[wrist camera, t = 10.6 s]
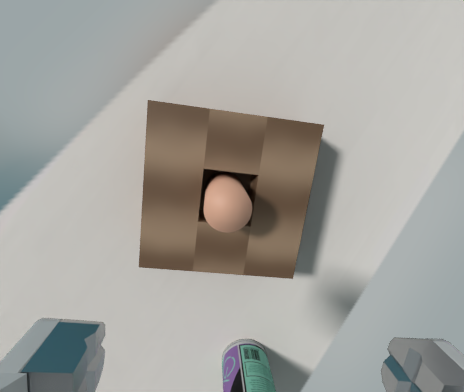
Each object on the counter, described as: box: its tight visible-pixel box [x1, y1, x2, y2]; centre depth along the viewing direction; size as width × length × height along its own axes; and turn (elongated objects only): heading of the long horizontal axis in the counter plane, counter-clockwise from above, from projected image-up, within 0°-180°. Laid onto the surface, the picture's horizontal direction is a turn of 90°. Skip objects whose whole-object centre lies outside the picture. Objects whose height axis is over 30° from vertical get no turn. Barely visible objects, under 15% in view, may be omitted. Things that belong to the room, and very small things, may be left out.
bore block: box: [139, 100, 324, 279], centre depth 25 cm, size 14×14×5 cm
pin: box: [204, 171, 252, 233], centre depth 23 cm, size 4×4×7 cm
